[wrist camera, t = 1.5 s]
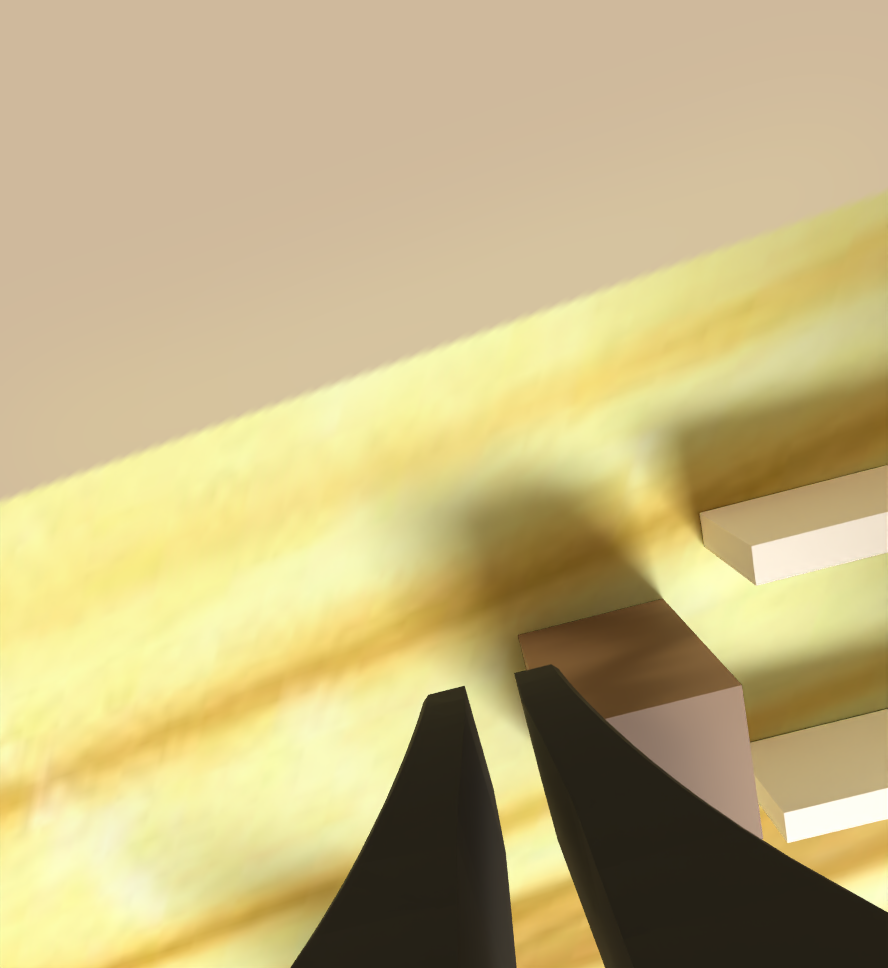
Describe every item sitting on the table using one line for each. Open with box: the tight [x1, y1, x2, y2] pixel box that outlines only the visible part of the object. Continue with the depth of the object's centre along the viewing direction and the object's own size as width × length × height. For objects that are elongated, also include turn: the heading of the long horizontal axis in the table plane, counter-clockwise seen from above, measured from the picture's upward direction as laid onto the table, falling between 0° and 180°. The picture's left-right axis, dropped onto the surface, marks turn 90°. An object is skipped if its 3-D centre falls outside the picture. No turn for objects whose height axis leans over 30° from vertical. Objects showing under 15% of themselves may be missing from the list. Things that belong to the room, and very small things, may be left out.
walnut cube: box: [518, 599, 763, 839], centre depth 18 cm, size 5×5×5 cm
